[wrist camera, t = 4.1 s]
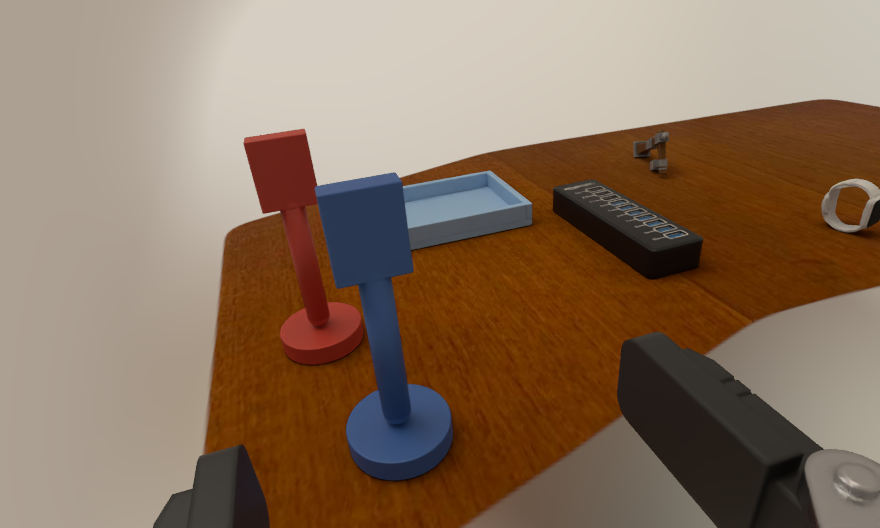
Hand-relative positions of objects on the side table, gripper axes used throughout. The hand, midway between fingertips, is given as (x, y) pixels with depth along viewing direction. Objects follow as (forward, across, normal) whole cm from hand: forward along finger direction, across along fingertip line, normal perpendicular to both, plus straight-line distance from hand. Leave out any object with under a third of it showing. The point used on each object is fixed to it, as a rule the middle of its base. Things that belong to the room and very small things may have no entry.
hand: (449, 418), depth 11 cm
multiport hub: (+26, -22, +12) cm, 36 cm away
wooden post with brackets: (+39, -35, +12) cm, 54 cm away
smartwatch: (+19, -38, +12) cm, 44 cm away
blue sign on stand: (+11, 0, +12) cm, 16 cm away
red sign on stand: (+21, +3, +12) cm, 24 cm away
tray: (+36, -9, +12) cm, 39 cm away
